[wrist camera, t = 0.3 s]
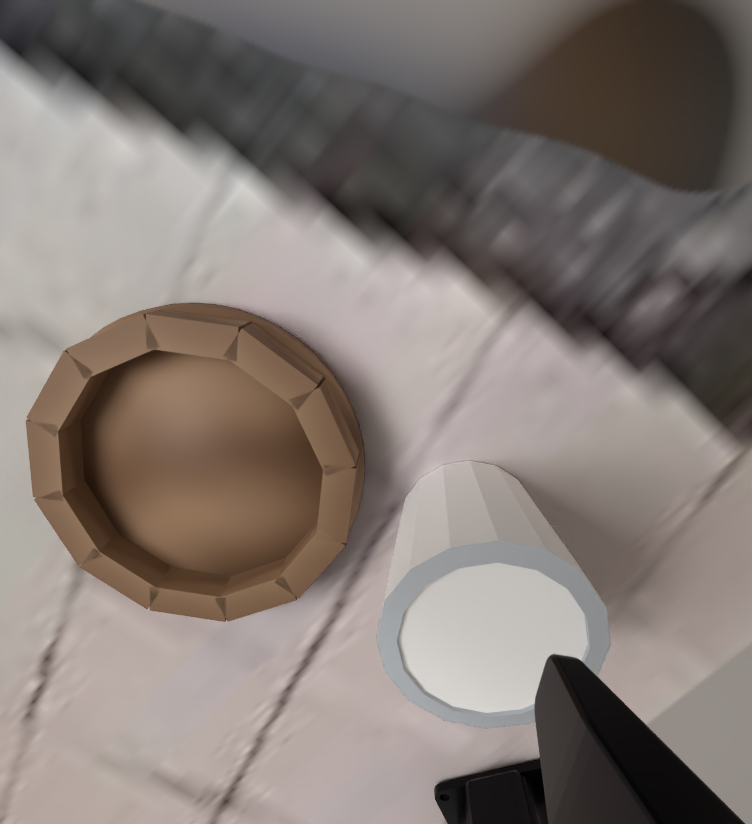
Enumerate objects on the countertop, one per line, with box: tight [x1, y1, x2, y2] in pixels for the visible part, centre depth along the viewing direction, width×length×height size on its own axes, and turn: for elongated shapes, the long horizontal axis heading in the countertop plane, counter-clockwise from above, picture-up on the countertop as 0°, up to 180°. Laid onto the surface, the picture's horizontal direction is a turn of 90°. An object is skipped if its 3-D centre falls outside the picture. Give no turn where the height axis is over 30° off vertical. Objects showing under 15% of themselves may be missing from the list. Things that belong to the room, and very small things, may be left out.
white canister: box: [376, 460, 610, 729], centre depth 18 cm, size 7×7×7 cm
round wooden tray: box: [26, 303, 365, 622], centre depth 20 cm, size 13×13×2 cm
